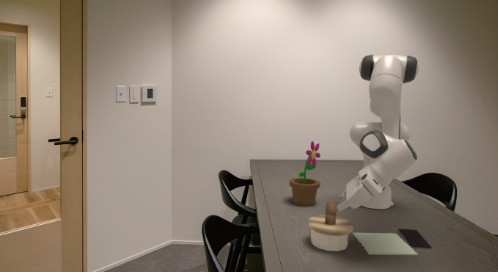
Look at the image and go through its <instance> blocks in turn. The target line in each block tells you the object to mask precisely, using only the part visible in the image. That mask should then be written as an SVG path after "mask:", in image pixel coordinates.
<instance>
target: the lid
mask: <svg viewBox="0 0 498 272" xmlns="http://www.w3.org/2000/svg"><path fill="white" fill-rule="evenodd" d="M337 206H338V203H337V202H334V201H326V202H325V214H320V215H314V216H310V217H309V218H308V221H307V225H308V227H309V229H310V230H311V229H312V230H314V231H316V232H318V233H322V234H326V235H334V236H340V235H347V234H348V235H350V234H351V233H353V230H354V225H353V223H352V221H350V220H348V219H346V218H343V217H340V216H337V210H338V209H337Z"/></svg>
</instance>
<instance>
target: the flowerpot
mask: <svg viewBox="0 0 498 272" xmlns="http://www.w3.org/2000/svg"><path fill="white" fill-rule="evenodd" d="M319 148H320V143H319V142H318V143H317V144H315V142H314V140H312V141H311V143H310V150H309V149H307V150H306V151H305V153H306V155H307V159H306V160H305V164H304V170H303V171H301V172H299V174H298V177H292V178H291V179H289V181H288V182H289V183H288V184H289V185H288V186H290V188H291V195H292V204H295V205H296V206H301V207H310V206H314V205H315V203H316V199H317V193H318V189H319V188H321V181H320V180H317V179H315V178H310V177H307V171H312V170H314V169H316V168H317V166H316V165H317V159H319V158H321V153H320V152H318V151H319ZM316 158H317V159H316Z"/></svg>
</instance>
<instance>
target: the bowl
mask: <svg viewBox="0 0 498 272" xmlns="http://www.w3.org/2000/svg"><path fill="white" fill-rule="evenodd" d="M310 230H311V232H310V242H311V244H312V245H313V246H314V247H316V248H317V249H319V250H324V251H327V252H341V251H344V250H346V249H347V247H348V246H349V245H348V244H349V234H347V235H340V236H334V235H326V234H322V233H318V232H316V231H314V230H312V229H311V228H310Z"/></svg>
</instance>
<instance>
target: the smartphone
mask: <svg viewBox="0 0 498 272" xmlns="http://www.w3.org/2000/svg"><path fill="white" fill-rule="evenodd" d="M397 232H398V233H399V235H400V236H401V238H402V240H403V241H404V242H405V243H407V244H408V245H409V246H410V247H411V248H412V249H415V250H416V249H418V250H433V247H432V246H431V245H430V243H429V242H428V241H427V240H426V239H425V237H424V236H422V234H421V233H420V231H418V230H417V229H410V228H409V229H408V228H398V229H397Z"/></svg>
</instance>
